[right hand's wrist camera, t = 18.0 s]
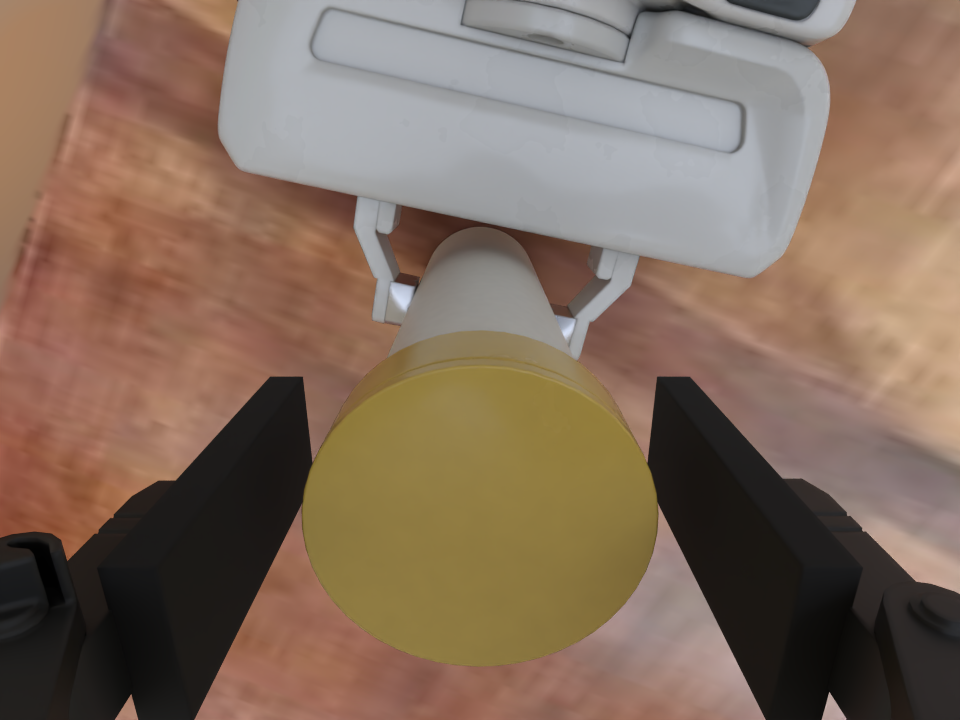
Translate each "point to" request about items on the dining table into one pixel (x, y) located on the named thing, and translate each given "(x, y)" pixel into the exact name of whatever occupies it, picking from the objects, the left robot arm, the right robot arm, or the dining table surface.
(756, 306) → the dining table surface
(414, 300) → the jar
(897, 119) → the dining table surface
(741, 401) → the dining table surface
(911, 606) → the right robot arm
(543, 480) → the lid
